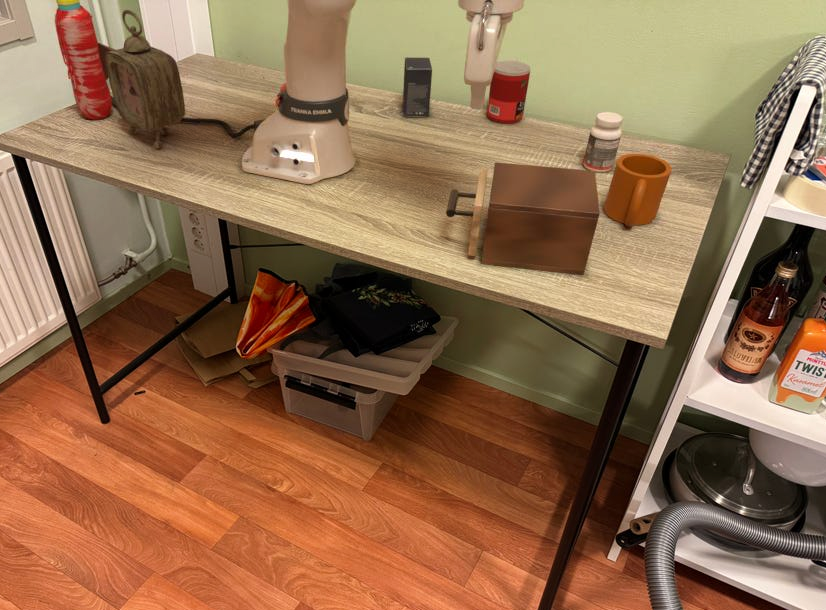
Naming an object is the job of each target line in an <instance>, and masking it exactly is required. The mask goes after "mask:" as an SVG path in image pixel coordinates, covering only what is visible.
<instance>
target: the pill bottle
mask: <svg viewBox="0 0 826 610" xmlns="http://www.w3.org/2000/svg"><path fill="white" fill-rule="evenodd" d="M594 122H595V125H593V126H592V127H591V128H590V131H589V136H588V140H587V145H586V148H585V153H584V157H583V161H582V162H583V163H582V164H583V166H584V167H585V168H586V170H590V171H595V173H606V172H609V171H611V170H612V169H613V168H614V165H615V162H616V157H617V154H618V151H619V150H618V149H619V146H620V143H621V138H622V129H621V126H622V124H623V116H622V115H620V114H619V113H617V112H612V111H603V112H599V113H597V114H596V118H595V120H594Z"/></svg>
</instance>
